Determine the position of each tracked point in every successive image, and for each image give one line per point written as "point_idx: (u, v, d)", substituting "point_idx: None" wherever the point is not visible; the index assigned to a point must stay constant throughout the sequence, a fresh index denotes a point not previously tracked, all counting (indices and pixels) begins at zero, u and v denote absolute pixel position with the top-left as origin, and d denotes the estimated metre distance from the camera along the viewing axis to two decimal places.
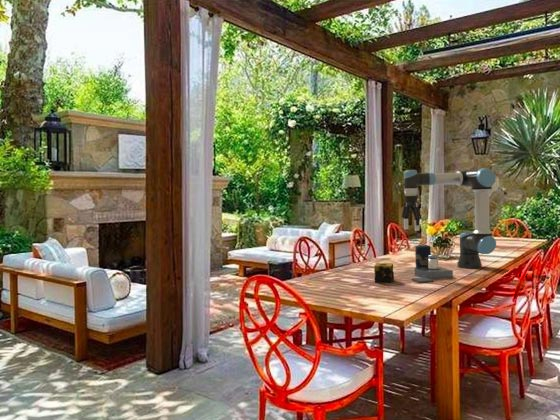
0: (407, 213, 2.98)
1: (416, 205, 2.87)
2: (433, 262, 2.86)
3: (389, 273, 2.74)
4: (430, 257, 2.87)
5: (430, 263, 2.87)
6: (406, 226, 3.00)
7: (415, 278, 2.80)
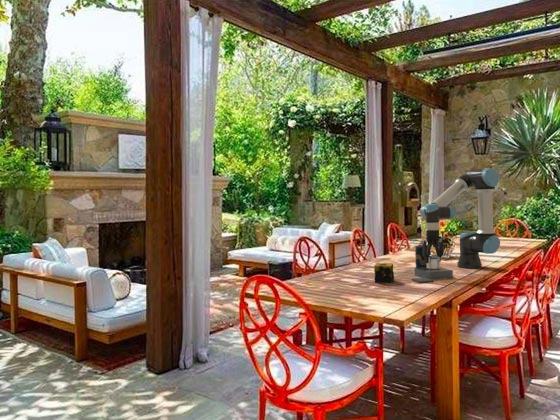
0: (436, 249, 2.89)
1: (422, 242, 2.87)
2: (433, 262, 2.86)
3: (389, 273, 2.74)
4: (430, 257, 2.87)
5: (430, 263, 2.87)
6: None
7: (415, 278, 2.80)
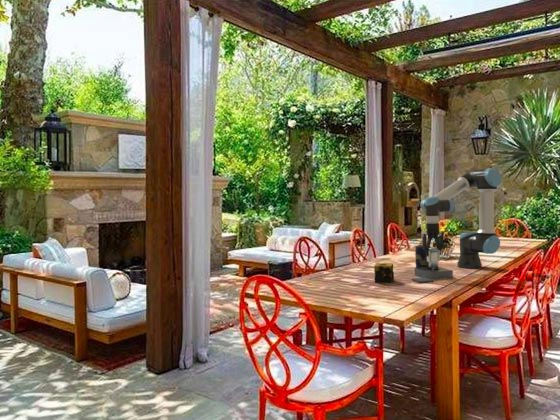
0: (436, 242, 2.89)
1: (422, 235, 2.87)
2: (434, 255, 2.86)
3: (389, 273, 2.74)
4: (430, 250, 2.87)
5: (430, 256, 2.87)
6: None
7: (415, 278, 2.80)
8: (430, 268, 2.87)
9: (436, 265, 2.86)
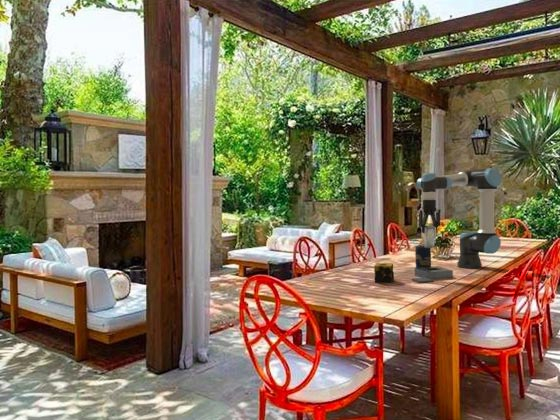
0: (432, 219, 2.85)
1: (419, 212, 2.83)
2: (430, 232, 2.82)
3: (389, 273, 2.74)
4: (426, 227, 2.83)
5: (426, 233, 2.83)
6: None
7: (415, 278, 2.80)
8: (426, 245, 2.84)
9: (432, 242, 2.82)
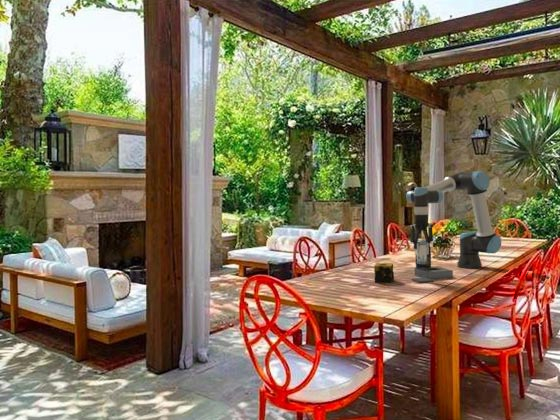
0: (425, 235, 2.76)
1: (411, 227, 2.74)
2: (422, 248, 2.73)
3: (389, 273, 2.74)
4: (418, 243, 2.74)
5: None
6: None
7: (415, 278, 2.80)
8: (418, 262, 2.74)
9: (425, 258, 2.73)
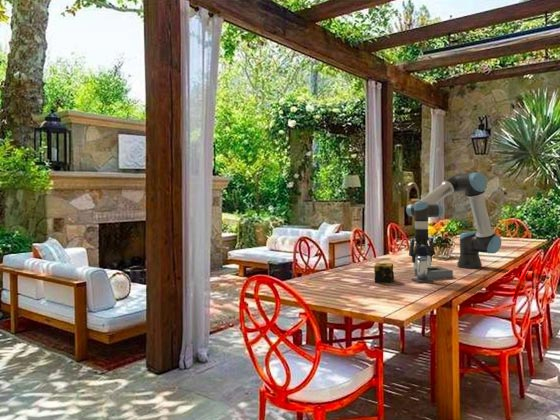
0: (426, 248, 2.76)
1: (411, 241, 2.74)
2: (423, 264, 2.73)
3: (389, 273, 2.74)
4: (419, 259, 2.74)
5: (419, 265, 2.74)
6: (428, 264, 2.77)
7: (415, 278, 2.80)
8: (419, 277, 2.75)
9: (425, 274, 2.74)
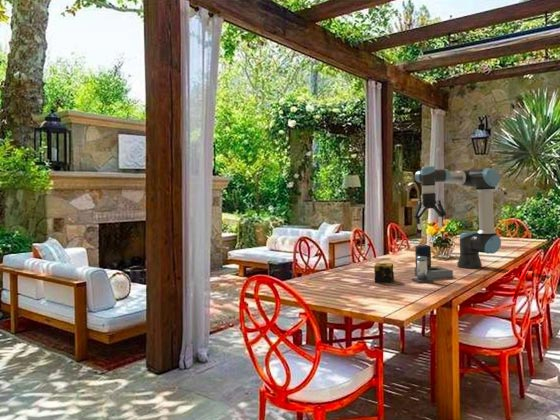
0: (436, 211, 2.84)
1: (418, 203, 2.81)
2: (422, 264, 2.73)
3: (389, 273, 2.74)
4: (419, 259, 2.74)
5: (419, 265, 2.74)
6: (439, 224, 2.84)
7: (415, 278, 2.80)
8: (419, 277, 2.75)
9: (425, 274, 2.74)
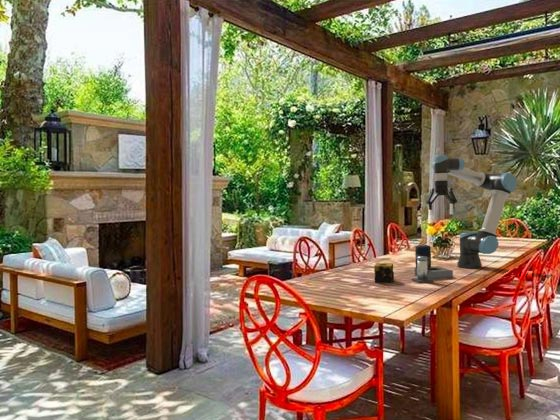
0: (448, 198, 2.96)
1: (431, 190, 2.94)
2: (422, 264, 2.73)
3: (389, 273, 2.74)
4: (419, 259, 2.74)
5: (419, 265, 2.74)
6: (450, 211, 2.97)
7: (415, 278, 2.80)
8: (419, 277, 2.75)
9: (425, 274, 2.74)
